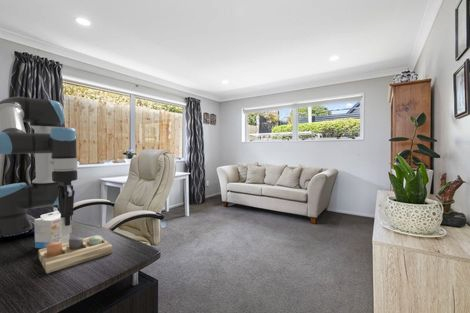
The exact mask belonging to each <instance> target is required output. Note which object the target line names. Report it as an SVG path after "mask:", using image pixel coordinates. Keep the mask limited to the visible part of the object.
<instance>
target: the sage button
mask: <svg viewBox="0 0 470 313" xmlns="http://www.w3.org/2000/svg"><path fill="white" fill-rule="evenodd" d="M92 236H93V237H91V236H90V237H91V238H89V246H90V247H91V246H94V245H98V244H101V243H102V238H103V237H102V235H99V236H95V235H92Z"/></svg>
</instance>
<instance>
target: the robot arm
mask: <svg viewBox="0 0 470 313" xmlns="http://www.w3.org/2000/svg"><path fill="white" fill-rule="evenodd" d="M64 122H65V116H64V110H63V107H62V105H61V103H60V102H59V101H57V100H51V99H43V98H35V97H34V98H33V97H25V96H12V97H7V98H4V99H2V100H0V155H19V154H21V155H24V154H25V155H26V154H34V158H35V160H34V161H35V164H34V165H35V166H34V167H35V178H34V179H33V180H32V181H31V184H28V185H27V183H26V182H19V183H18V182H16V183H11V184H10V183H9V184H5V185H2V186H0V238H1V236H3V235H12V234H18V233H22V232H26V231H29V230H30V229H32V228H33V223H32V221H31V220H30V218H29V215H28V210H31V209H32V210H33V209H37V208H44V207H45V208H46V207H52V206H58V209H59V210H58V211H59V213H61V216H60V218H61V225H62V235H65V234H72V233H73V230H72V216H73V215H74V200H75V194H76V191H75V190H74V185H72V182H73V181H74V182H75V181H76V180H78V170H77V169H78V158H77V157H78V156H77V155H78V154H77V153H78V152H77V138H78V136H77V131H76V129H75V128H74V127H64V126H63V127H62V126H61V125H64ZM24 123H29V126H30V128H32V129H33V131H34V132H26V131H27V130H26V128H25V125H24Z"/></svg>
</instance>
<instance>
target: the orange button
mask: <svg viewBox="0 0 470 313" xmlns="http://www.w3.org/2000/svg"><path fill="white" fill-rule="evenodd" d="M61 252H62V242H60V241H58V242H52V243H49V244H47V255H48V256H52V255H57V254H59V253H61Z"/></svg>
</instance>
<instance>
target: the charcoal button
mask: <svg viewBox="0 0 470 313" xmlns="http://www.w3.org/2000/svg"><path fill="white" fill-rule="evenodd" d="M83 238H84V237H83V236H74V237H73V236H72V237H70V239H69V249H71V250H73V249H78V248H81V247H83Z"/></svg>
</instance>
